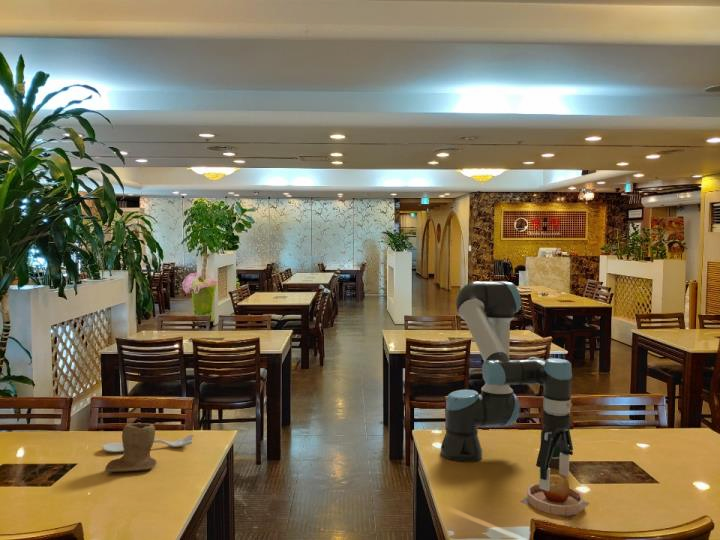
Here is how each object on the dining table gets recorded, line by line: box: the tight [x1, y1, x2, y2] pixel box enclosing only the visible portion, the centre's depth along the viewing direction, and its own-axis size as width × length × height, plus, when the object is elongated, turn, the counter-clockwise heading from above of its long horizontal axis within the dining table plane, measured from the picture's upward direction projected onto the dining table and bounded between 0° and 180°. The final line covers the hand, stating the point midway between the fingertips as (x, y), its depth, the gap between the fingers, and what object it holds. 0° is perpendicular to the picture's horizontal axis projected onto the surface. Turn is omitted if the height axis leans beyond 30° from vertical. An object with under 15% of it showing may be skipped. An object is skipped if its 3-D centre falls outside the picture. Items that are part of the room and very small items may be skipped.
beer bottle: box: [540, 423, 562, 471], centre depth 183 cm, size 8×8×24 cm
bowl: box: [526, 482, 585, 516], centre depth 155 cm, size 16×16×2 cm
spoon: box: [101, 434, 194, 453], centre depth 196 cm, size 9×32×4 cm, turn 103°
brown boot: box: [104, 422, 157, 473], centre depth 178 cm, size 15×12×15 cm
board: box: [520, 496, 590, 520], centre depth 155 cm, size 15×14×1 cm
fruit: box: [542, 474, 571, 502], centre depth 155 cm, size 8×8×8 cm
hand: (554, 482), depth 155 cm, fingers open, 13 cm apart
